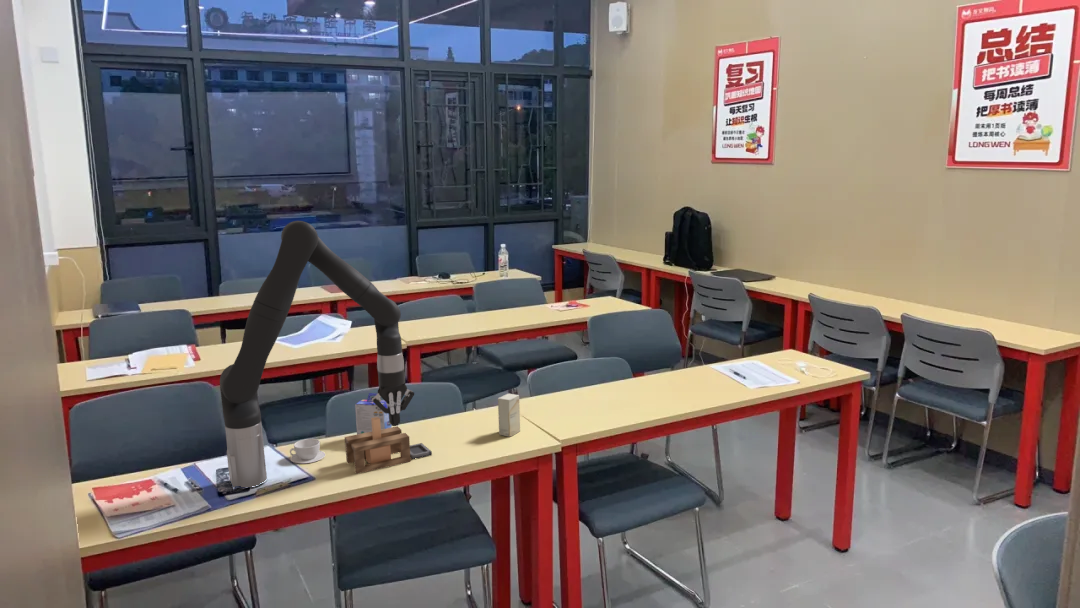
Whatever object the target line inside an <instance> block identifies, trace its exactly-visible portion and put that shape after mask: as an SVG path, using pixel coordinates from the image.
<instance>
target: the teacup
mask: <svg viewBox="0 0 1080 608" xmlns="http://www.w3.org/2000/svg"><path fill="white" fill-rule="evenodd" d="M320 446H321V442H320V440H319V439H318V438H317V439H316V438H306V439H301V440H298V441H296V442H295V443H294V444H293V448H290V450H289V453H290V456H291V457H290V461H291V462H293V463H295V464H309V463H315V462H318V461H321V460H322V459H324V458H325V457H326V453H325V451H322V450H320V448H321V447H320ZM292 451H294V452H295V453H292Z"/></svg>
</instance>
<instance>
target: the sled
mask: <svg viewBox="0 0 1080 608" xmlns="http://www.w3.org/2000/svg"><path fill="white" fill-rule="evenodd" d="M371 422H372V436H373V440H374V439H378V438H381V424H380V418H379V417H374V418H371ZM365 455H366V460H365V462H367V464H370V463H375V462H379V461H384V460H388V459H392V454H391V449H390V445H386V446H381V447H376V448H372V449H367V450H365Z"/></svg>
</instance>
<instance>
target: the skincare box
mask: <svg viewBox="0 0 1080 608" xmlns="http://www.w3.org/2000/svg"><path fill="white" fill-rule="evenodd" d="M497 407H498V408H497V409H498V412H497V413H498V415H497V416H498V434H499V436H505V437H512V436H514V435H516V434H518V433H520V432H521V411H520V395H519V394H514V393H506V394H504V395H502V396H499V397H497Z"/></svg>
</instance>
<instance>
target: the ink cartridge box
mask: <svg viewBox="0 0 1080 608" xmlns="http://www.w3.org/2000/svg"><path fill="white" fill-rule="evenodd" d="M377 394H378V393H375V392H374V393H371V392H370V393H368V396H367V398H366V399H361V400H359V401H358V402H357V403H355V404H354V410H355V423H356V424H355V426H356V435H357V434H362V433H367V432H372V422H371V418H374V417H379V418H380V424H381V430H382V429H387V428H392V425H391V424H390V422H389V414H388V413H387V414H386V413H384V412H383V411H382V410H381V409H380V408H379V407H378V406H377V405H376V404H375V403H374V402H373V401H372V400H371V398H372V397H375V396H376V395H377ZM380 403H381V404H382V405H383V406H384V407H385V408H387V404H386V401H384V399H381V402H380Z"/></svg>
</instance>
